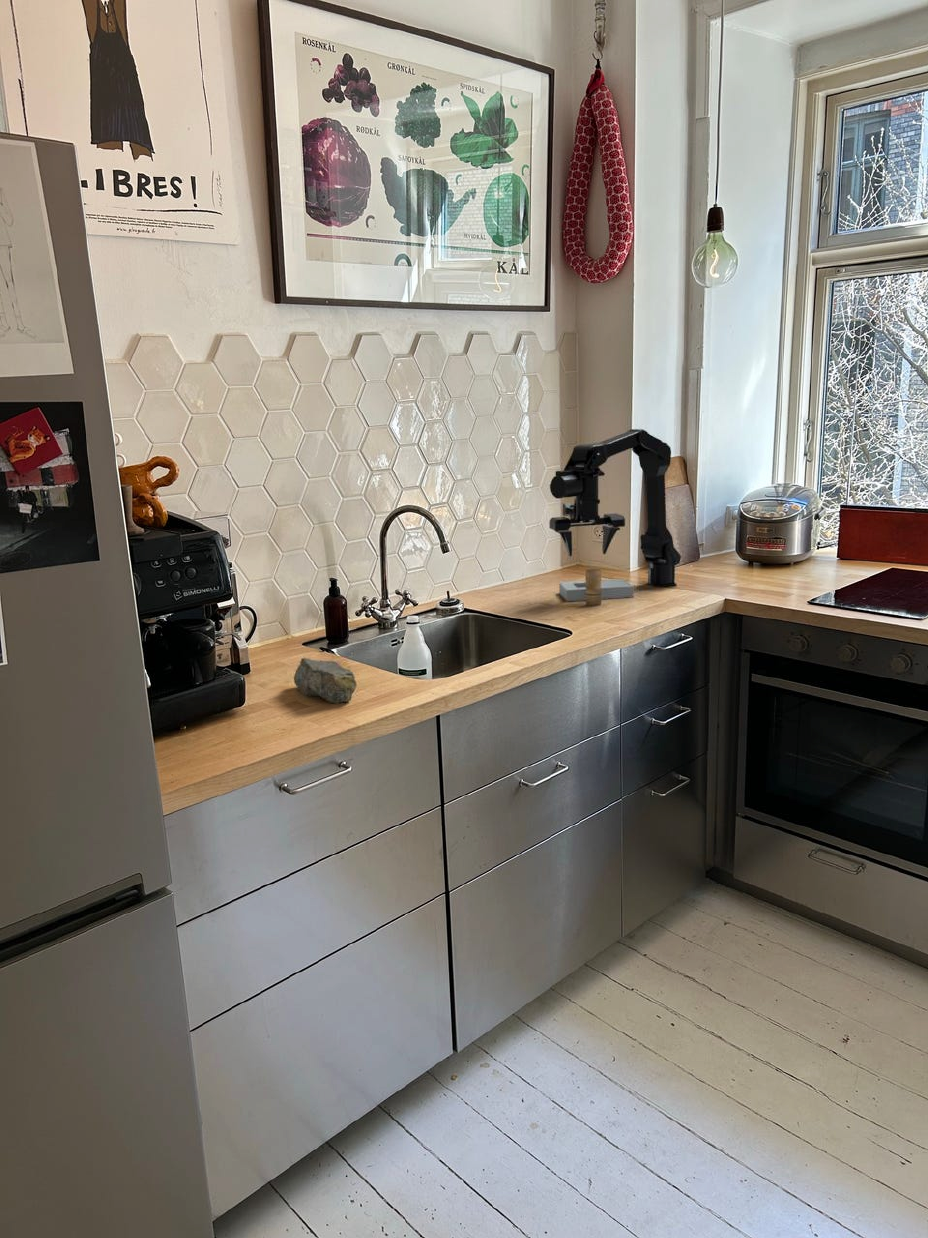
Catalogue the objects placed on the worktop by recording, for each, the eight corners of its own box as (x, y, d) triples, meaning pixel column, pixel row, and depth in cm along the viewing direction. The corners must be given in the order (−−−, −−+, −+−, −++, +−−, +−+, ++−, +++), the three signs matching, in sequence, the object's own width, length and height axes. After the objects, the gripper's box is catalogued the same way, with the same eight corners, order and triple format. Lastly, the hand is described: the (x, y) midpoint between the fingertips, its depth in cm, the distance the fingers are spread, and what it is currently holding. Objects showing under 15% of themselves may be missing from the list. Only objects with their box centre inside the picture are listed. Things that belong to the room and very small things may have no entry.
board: (623, 589, 246) (623, 578, 246) (633, 597, 237) (633, 586, 236) (559, 593, 245) (559, 582, 244) (566, 601, 235) (566, 590, 235)
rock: (376, 673, 167) (334, 672, 159) (370, 708, 167) (328, 709, 160) (320, 654, 178) (279, 653, 171) (315, 687, 179) (273, 687, 171)
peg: (599, 602, 233) (599, 568, 231) (603, 605, 229) (603, 571, 227) (583, 603, 233) (583, 569, 231) (587, 606, 229) (587, 572, 227)
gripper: (610, 489, 236) (610, 547, 240) (543, 493, 233) (543, 552, 237) (626, 494, 226) (625, 554, 229) (555, 498, 222) (556, 559, 226)
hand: (587, 555), depth 231 cm, fingers open, 9 cm apart
